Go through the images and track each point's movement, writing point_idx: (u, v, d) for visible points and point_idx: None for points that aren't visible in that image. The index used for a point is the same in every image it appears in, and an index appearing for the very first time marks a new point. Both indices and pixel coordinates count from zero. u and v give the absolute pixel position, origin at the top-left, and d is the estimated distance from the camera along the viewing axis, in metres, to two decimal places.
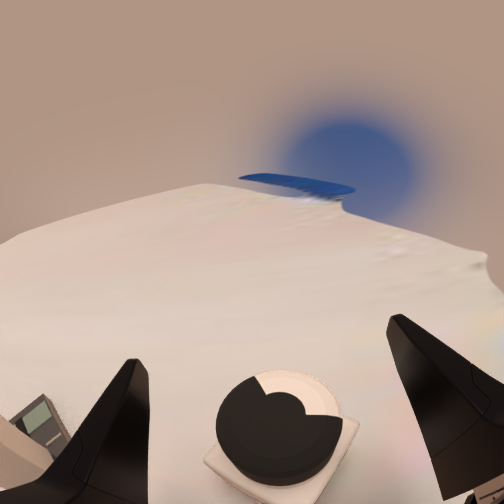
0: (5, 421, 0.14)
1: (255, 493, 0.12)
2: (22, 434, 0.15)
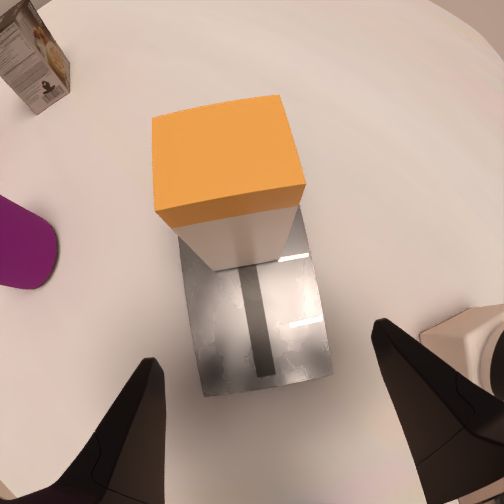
0: None
1: None
2: None
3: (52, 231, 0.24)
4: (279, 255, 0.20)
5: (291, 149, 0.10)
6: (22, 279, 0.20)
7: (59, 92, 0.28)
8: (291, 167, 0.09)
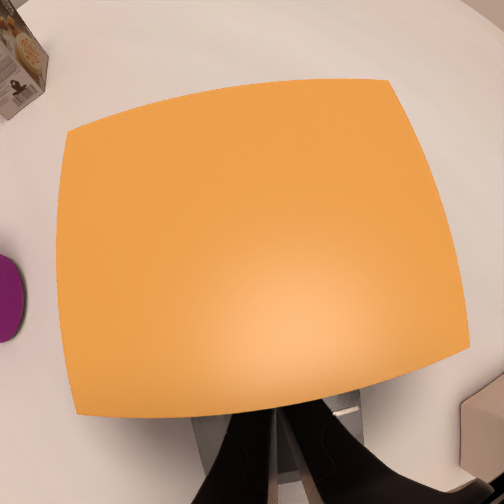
0: None
1: None
2: None
3: (16, 275, 0.17)
4: None
5: (443, 244, 0.03)
6: None
7: (32, 92, 0.22)
8: (445, 303, 0.03)
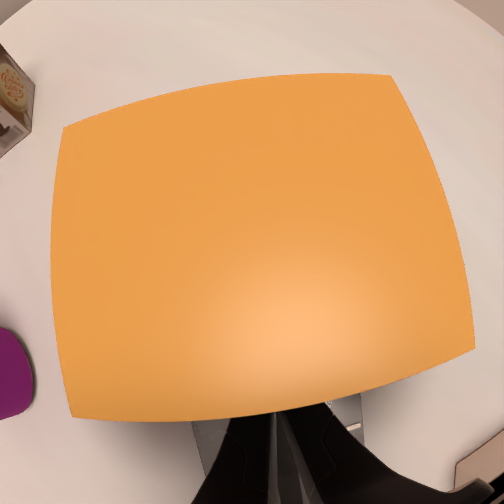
0: None
1: None
2: None
3: (21, 353, 0.16)
4: None
5: (448, 242, 0.03)
6: None
7: (17, 133, 0.20)
8: (450, 303, 0.03)
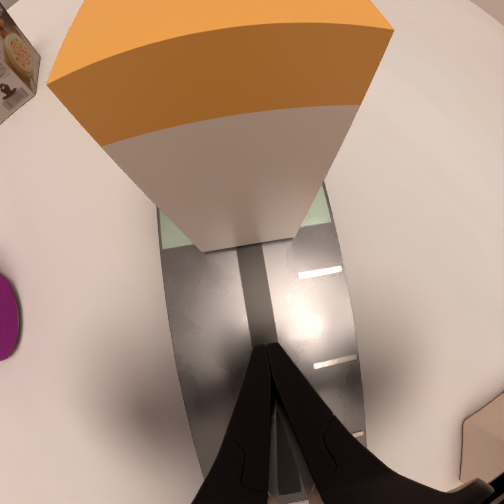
0: None
1: None
2: None
3: (10, 293, 0.16)
4: (296, 229, 0.14)
5: None
6: None
7: (22, 96, 0.20)
8: (356, 4, 0.03)
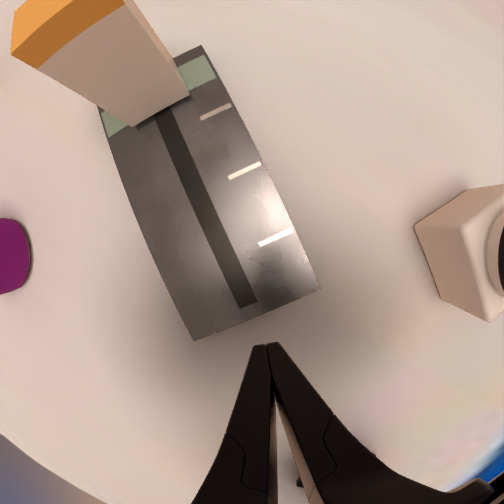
0: (144, 17, 0.12)
1: (479, 284, 0.14)
2: (156, 35, 0.15)
3: (18, 226, 0.22)
4: (182, 86, 0.17)
5: None
6: (4, 283, 0.20)
7: None
8: None
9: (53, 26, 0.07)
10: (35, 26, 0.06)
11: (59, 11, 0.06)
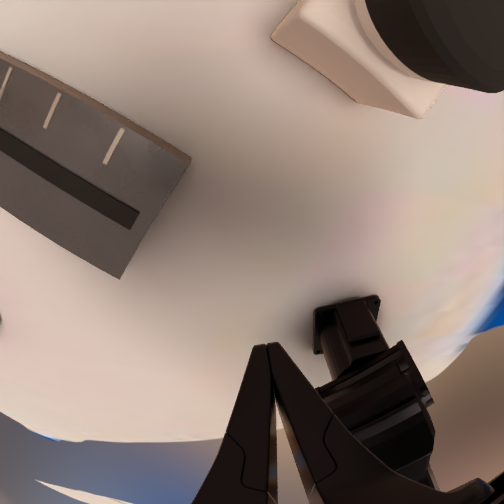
0: None
1: (376, 74, 0.09)
2: None
3: None
4: None
5: None
6: None
7: None
8: None
9: None
10: None
11: None
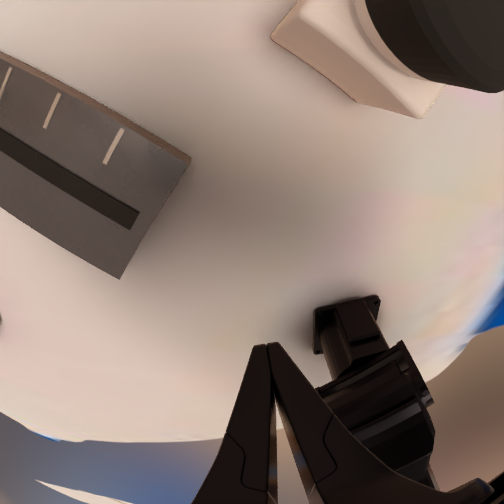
0: None
1: (376, 74, 0.09)
2: None
3: None
4: None
5: None
6: None
7: None
8: None
9: None
10: None
11: None
